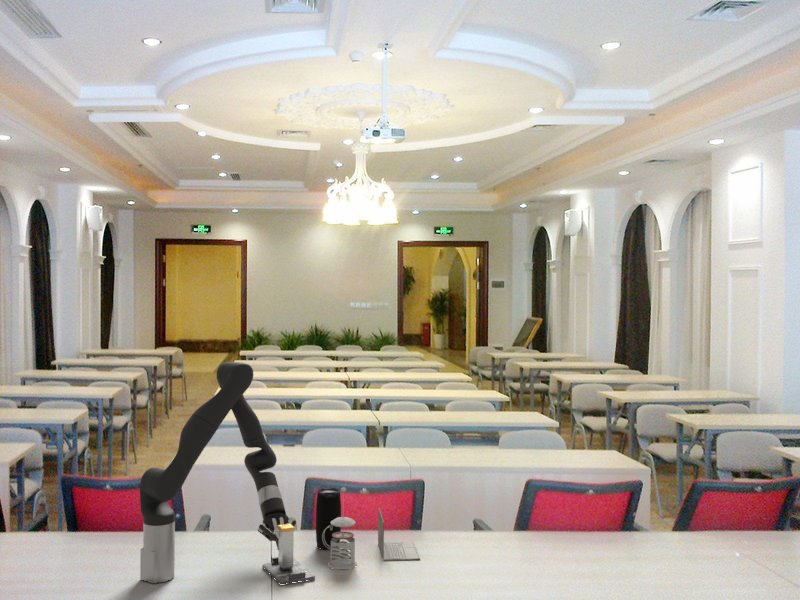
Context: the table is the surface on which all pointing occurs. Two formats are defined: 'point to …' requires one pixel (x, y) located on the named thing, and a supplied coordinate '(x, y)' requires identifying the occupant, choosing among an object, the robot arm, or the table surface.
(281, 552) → the fader handle
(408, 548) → the laptop
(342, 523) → the french press
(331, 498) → the portable speaker
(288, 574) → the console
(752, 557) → the table surface
